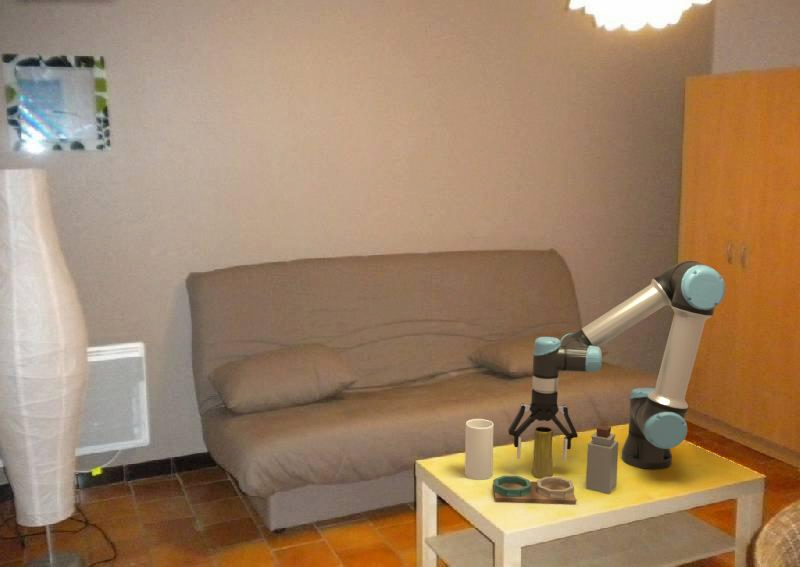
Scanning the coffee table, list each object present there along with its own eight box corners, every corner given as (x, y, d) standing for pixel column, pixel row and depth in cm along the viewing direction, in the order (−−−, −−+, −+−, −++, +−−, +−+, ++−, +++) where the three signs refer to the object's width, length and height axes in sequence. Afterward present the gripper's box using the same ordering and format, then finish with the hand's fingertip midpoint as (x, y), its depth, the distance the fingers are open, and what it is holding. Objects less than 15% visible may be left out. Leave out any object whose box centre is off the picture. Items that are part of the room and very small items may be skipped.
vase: (552, 479, 232) (554, 433, 230) (531, 478, 234) (532, 432, 231) (552, 471, 238) (554, 426, 236) (532, 470, 239) (533, 425, 237)
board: (569, 486, 228) (570, 475, 227) (575, 504, 216) (576, 493, 215) (493, 484, 229) (493, 473, 229) (495, 501, 217) (495, 491, 217)
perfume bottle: (609, 494, 222) (611, 433, 219) (585, 489, 226) (588, 429, 223) (616, 485, 228) (619, 426, 225) (593, 480, 232) (596, 422, 229)
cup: (496, 471, 238) (497, 421, 236) (487, 481, 231) (488, 429, 228) (470, 467, 242) (471, 417, 239) (461, 477, 234) (461, 425, 232)
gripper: (585, 387, 235) (581, 455, 238) (501, 384, 236) (498, 451, 240) (589, 395, 227) (585, 464, 231) (503, 391, 229) (500, 461, 232)
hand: (541, 458), depth 235 cm, fingers open, 13 cm apart
